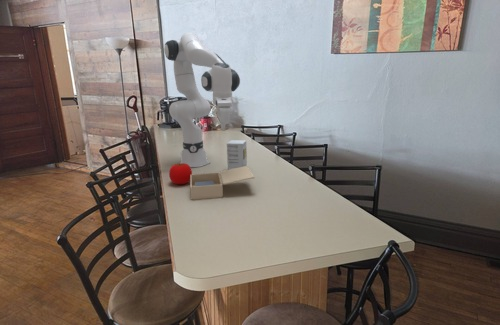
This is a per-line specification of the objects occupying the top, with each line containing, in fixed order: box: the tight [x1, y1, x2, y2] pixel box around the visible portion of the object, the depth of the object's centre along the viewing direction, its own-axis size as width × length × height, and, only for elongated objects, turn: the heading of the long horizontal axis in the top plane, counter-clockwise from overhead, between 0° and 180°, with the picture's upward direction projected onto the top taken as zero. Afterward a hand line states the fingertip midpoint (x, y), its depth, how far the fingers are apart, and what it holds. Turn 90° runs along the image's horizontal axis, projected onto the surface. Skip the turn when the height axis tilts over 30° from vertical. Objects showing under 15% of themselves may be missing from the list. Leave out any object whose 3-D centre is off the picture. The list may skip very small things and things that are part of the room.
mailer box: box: [189, 172, 224, 201], centre depth 151 cm, size 18×14×6 cm
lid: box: [219, 165, 255, 186], centre depth 152 cm, size 18×14×1 cm
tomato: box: [168, 162, 193, 185], centre depth 162 cm, size 11×12×10 cm
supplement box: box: [226, 139, 248, 170], centre depth 180 cm, size 10×9×17 cm
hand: (223, 130), depth 150 cm, fingers closed
